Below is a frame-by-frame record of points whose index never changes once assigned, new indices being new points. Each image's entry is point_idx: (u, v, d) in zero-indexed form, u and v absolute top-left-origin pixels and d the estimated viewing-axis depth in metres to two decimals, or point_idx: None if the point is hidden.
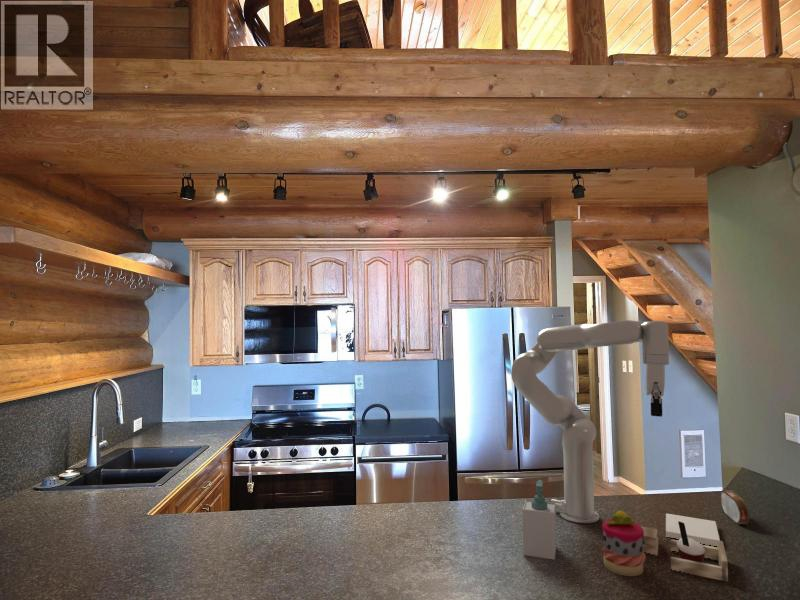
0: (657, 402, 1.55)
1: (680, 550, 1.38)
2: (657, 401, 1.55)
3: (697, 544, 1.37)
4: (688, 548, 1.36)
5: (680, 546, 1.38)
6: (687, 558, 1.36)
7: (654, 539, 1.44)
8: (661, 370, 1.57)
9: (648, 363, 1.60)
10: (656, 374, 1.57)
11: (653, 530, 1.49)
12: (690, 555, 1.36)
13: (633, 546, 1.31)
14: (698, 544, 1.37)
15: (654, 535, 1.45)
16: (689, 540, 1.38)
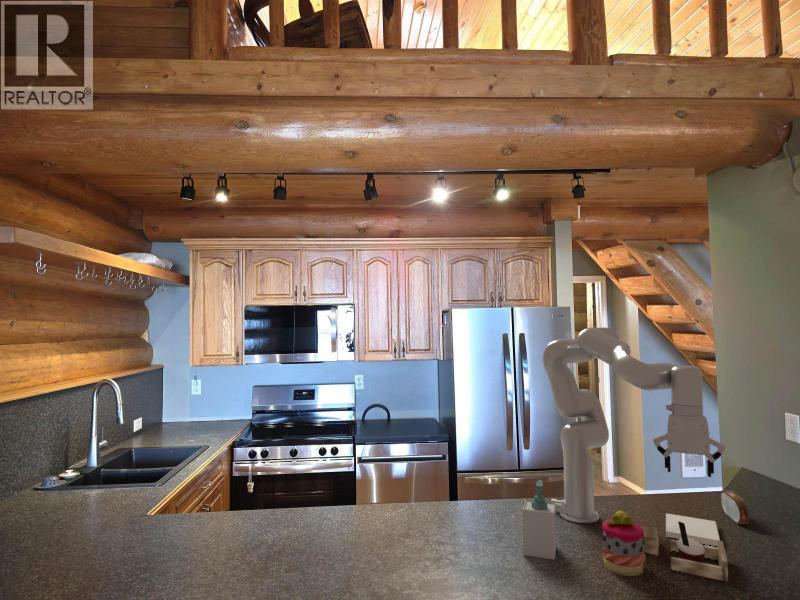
0: None
1: (680, 550, 1.38)
2: None
3: (697, 544, 1.37)
4: (688, 548, 1.36)
5: (680, 546, 1.38)
6: (687, 558, 1.36)
7: (654, 539, 1.43)
8: None
9: (701, 416, 1.36)
10: None
11: (653, 530, 1.49)
12: (690, 555, 1.36)
13: (633, 546, 1.31)
14: (698, 544, 1.37)
15: (655, 536, 1.45)
16: (689, 540, 1.38)
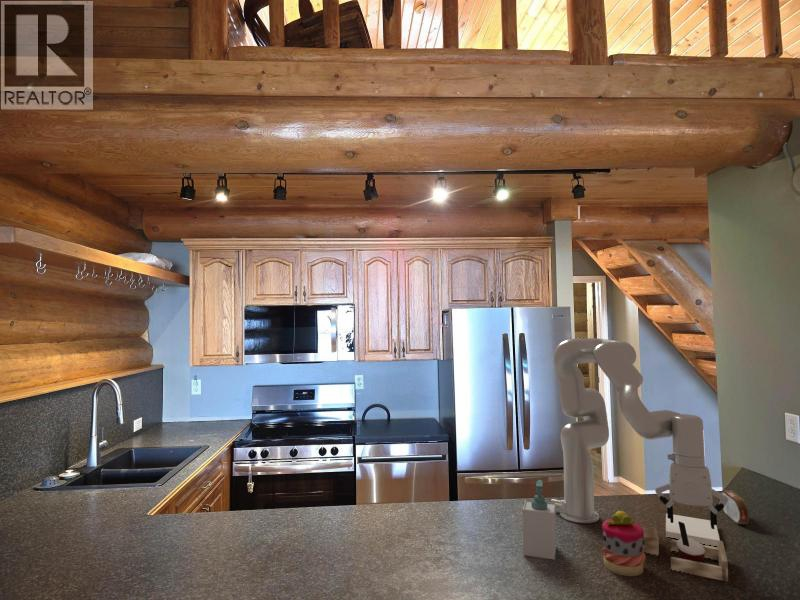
0: None
1: (680, 550, 1.38)
2: None
3: (697, 544, 1.37)
4: (688, 548, 1.36)
5: (680, 546, 1.38)
6: (687, 558, 1.36)
7: (656, 540, 1.43)
8: None
9: (702, 467, 1.36)
10: None
11: (652, 530, 1.49)
12: (690, 555, 1.36)
13: (633, 546, 1.31)
14: (698, 544, 1.37)
15: (656, 536, 1.45)
16: (689, 540, 1.38)
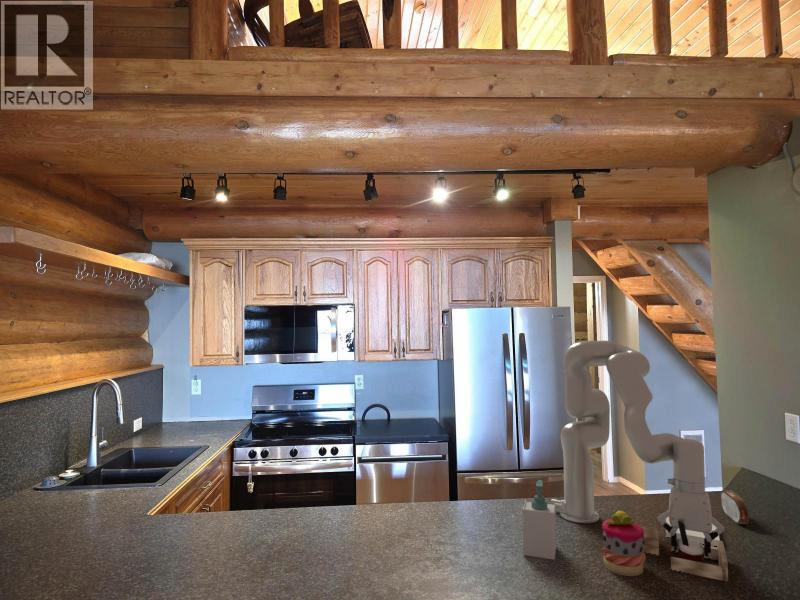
0: None
1: (680, 550, 1.38)
2: None
3: (697, 544, 1.37)
4: (688, 548, 1.36)
5: (680, 546, 1.38)
6: (687, 558, 1.36)
7: (657, 539, 1.44)
8: None
9: (703, 493, 1.36)
10: None
11: (653, 530, 1.49)
12: (690, 555, 1.36)
13: (633, 546, 1.31)
14: (698, 544, 1.37)
15: (657, 536, 1.45)
16: (689, 540, 1.38)
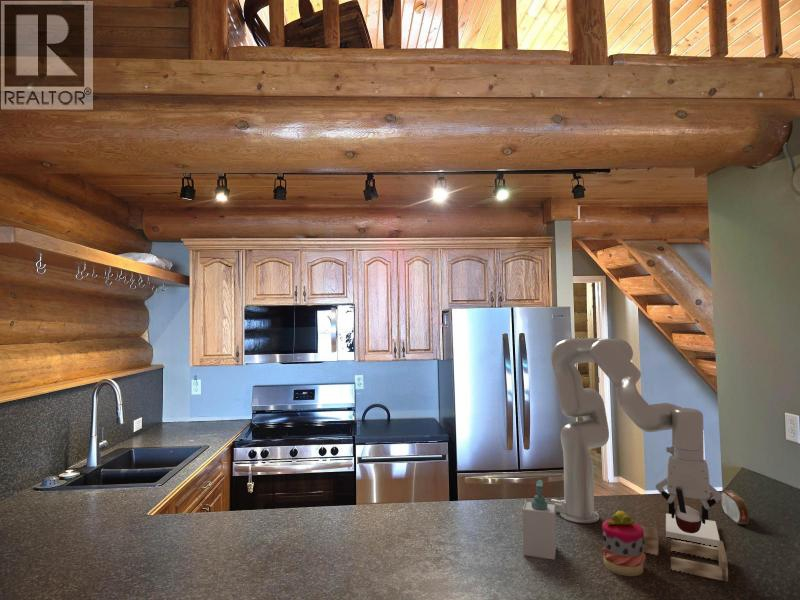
0: None
1: (677, 517, 1.39)
2: None
3: (694, 511, 1.38)
4: (685, 515, 1.37)
5: (677, 513, 1.39)
6: (684, 525, 1.37)
7: (656, 539, 1.44)
8: None
9: (701, 461, 1.36)
10: None
11: (652, 530, 1.49)
12: (687, 522, 1.37)
13: (633, 546, 1.31)
14: (695, 511, 1.38)
15: (656, 535, 1.45)
16: (686, 507, 1.39)
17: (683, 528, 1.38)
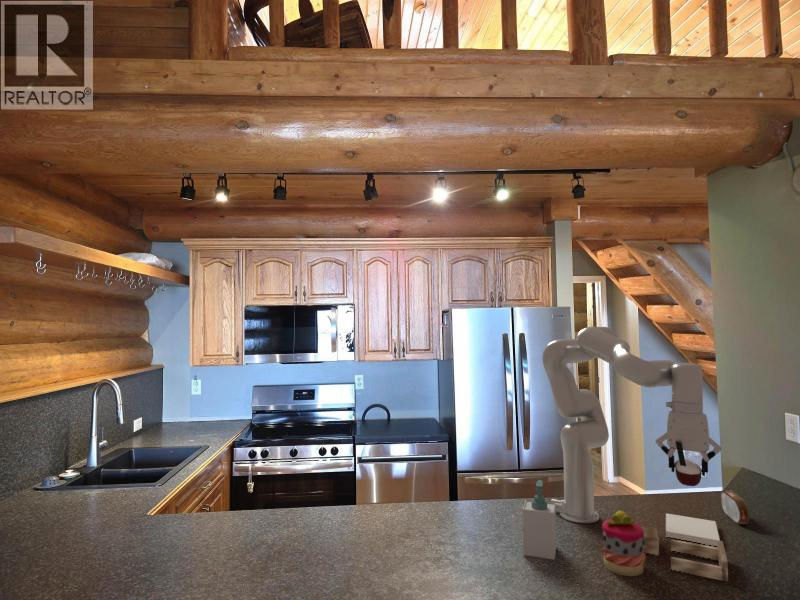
0: None
1: (677, 471, 1.40)
2: None
3: (694, 464, 1.39)
4: (685, 468, 1.38)
5: (677, 467, 1.40)
6: (684, 478, 1.38)
7: (656, 540, 1.43)
8: None
9: (700, 414, 1.37)
10: None
11: (653, 530, 1.49)
12: (687, 474, 1.37)
13: (633, 546, 1.31)
14: (695, 465, 1.39)
15: (656, 536, 1.45)
16: (686, 461, 1.40)
17: (683, 481, 1.38)
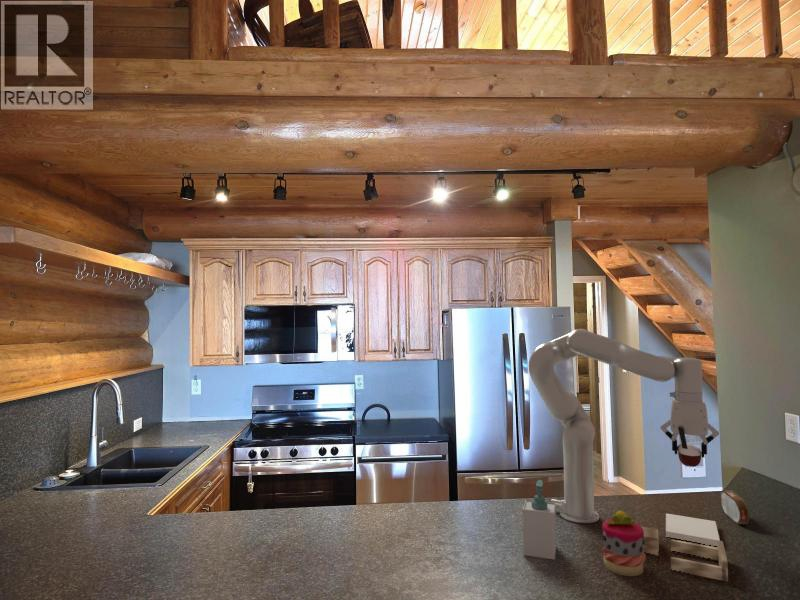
0: None
1: (680, 453, 1.58)
2: (709, 441, 1.55)
3: (695, 447, 1.57)
4: (686, 450, 1.56)
5: (680, 449, 1.58)
6: (686, 459, 1.56)
7: (656, 540, 1.43)
8: None
9: (700, 402, 1.55)
10: None
11: (654, 530, 1.49)
12: (688, 456, 1.55)
13: (633, 546, 1.31)
14: (696, 447, 1.57)
15: (657, 536, 1.45)
16: (688, 444, 1.58)
17: (685, 462, 1.56)
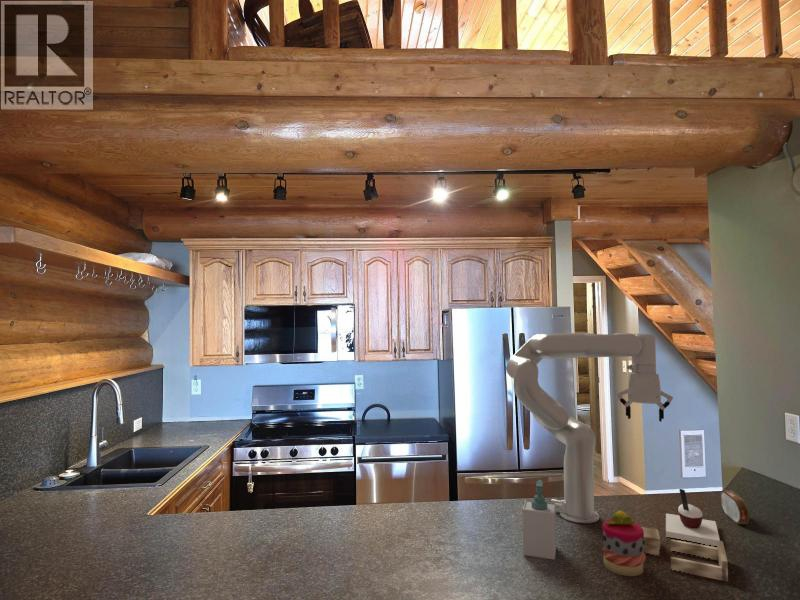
0: (664, 408, 1.71)
1: (681, 514, 1.58)
2: None
3: (696, 509, 1.57)
4: (688, 512, 1.56)
5: (681, 511, 1.58)
6: (687, 521, 1.56)
7: (658, 540, 1.43)
8: None
9: (653, 373, 1.71)
10: None
11: (654, 530, 1.48)
12: (690, 518, 1.56)
13: (633, 546, 1.31)
14: (697, 509, 1.57)
15: (658, 536, 1.44)
16: (689, 505, 1.58)
17: (686, 524, 1.57)
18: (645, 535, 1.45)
